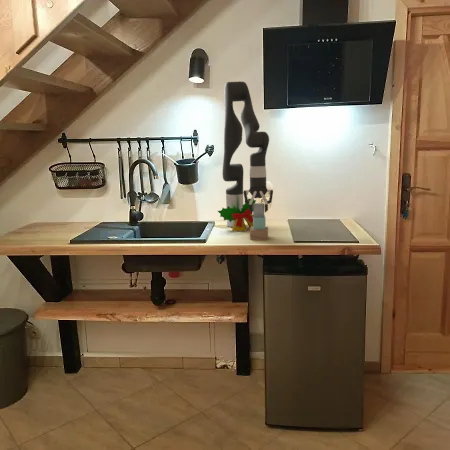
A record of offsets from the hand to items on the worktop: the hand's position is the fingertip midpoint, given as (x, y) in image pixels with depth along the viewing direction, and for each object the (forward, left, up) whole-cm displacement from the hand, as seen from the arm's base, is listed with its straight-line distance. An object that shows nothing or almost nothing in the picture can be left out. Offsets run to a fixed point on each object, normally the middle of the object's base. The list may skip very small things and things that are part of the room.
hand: (258, 212), depth 207 cm
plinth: (0, 0, -13) cm, 13 cm away
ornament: (-20, -11, -12) cm, 26 cm away
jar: (0, 0, -2) cm, 2 cm away
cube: (0, 0, -8) cm, 8 cm away
